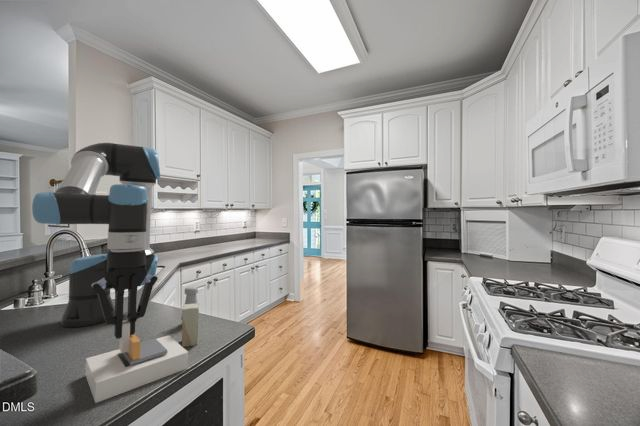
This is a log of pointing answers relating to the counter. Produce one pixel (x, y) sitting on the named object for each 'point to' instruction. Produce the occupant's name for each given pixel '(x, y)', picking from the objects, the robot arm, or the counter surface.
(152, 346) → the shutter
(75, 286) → the robot arm
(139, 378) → the socket
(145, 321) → the counter surface
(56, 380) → the counter surface
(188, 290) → the salt shaker
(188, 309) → the box
